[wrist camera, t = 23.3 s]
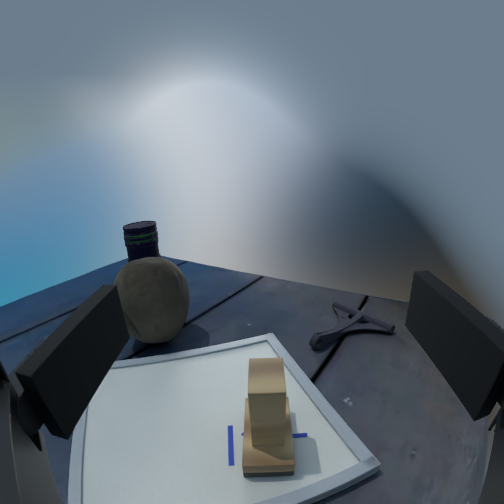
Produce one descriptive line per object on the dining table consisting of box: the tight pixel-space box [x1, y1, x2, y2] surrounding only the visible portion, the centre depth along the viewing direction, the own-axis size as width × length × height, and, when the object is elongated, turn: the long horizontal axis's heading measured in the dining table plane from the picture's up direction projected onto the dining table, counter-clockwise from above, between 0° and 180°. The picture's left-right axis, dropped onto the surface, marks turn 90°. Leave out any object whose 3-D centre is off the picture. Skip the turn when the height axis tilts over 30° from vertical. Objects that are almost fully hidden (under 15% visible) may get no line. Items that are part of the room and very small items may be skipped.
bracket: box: [309, 301, 395, 349], centre depth 51 cm, size 14×15×3 cm
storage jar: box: [123, 221, 161, 263], centre depth 82 cm, size 10×10×15 cm
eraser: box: [242, 357, 295, 477], centre depth 27 cm, size 10×5×10 cm, turn 179°
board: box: [68, 333, 381, 504], centre depth 32 cm, size 30×32×2 cm
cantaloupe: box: [113, 257, 189, 343], centre depth 51 cm, size 14×14×15 cm
